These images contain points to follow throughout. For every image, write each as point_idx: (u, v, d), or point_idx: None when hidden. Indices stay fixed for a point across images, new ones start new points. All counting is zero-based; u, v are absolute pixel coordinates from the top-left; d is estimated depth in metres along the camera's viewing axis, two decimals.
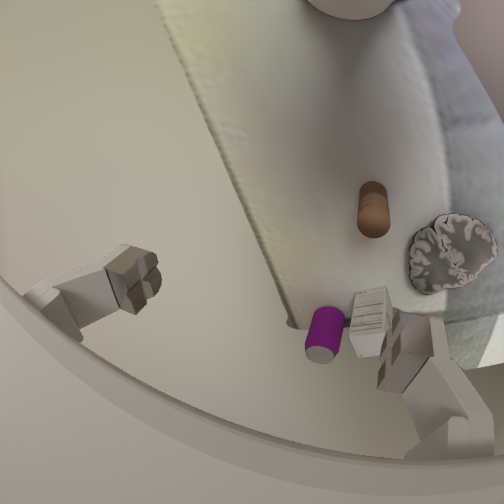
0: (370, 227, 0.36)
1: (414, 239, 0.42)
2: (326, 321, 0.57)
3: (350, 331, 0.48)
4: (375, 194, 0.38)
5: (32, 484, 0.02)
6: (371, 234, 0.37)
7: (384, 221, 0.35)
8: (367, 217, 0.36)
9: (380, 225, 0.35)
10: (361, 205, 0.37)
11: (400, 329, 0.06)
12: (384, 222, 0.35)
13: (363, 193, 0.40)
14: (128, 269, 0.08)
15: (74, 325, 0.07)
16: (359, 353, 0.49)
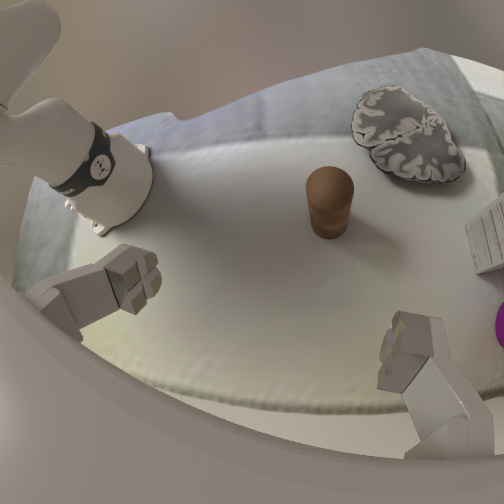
0: (335, 192, 0.26)
1: (387, 171, 0.32)
2: None
3: None
4: None
5: (32, 484, 0.02)
6: (347, 192, 0.26)
7: (327, 173, 0.27)
8: (319, 193, 0.26)
9: (333, 178, 0.26)
10: (312, 210, 0.28)
11: (400, 329, 0.06)
12: (329, 173, 0.26)
13: (312, 220, 0.32)
14: (128, 269, 0.08)
15: (74, 325, 0.07)
16: None
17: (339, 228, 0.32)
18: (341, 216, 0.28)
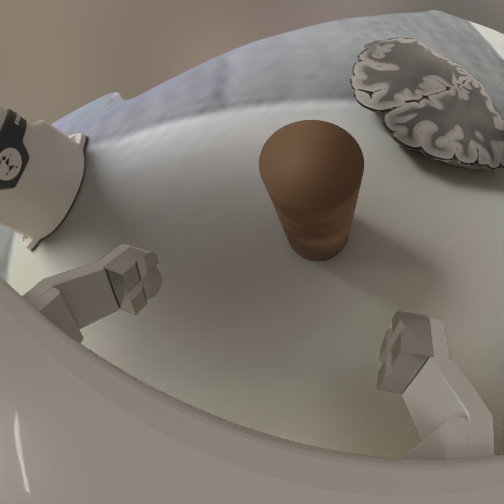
0: (322, 170, 0.12)
1: (412, 146, 0.18)
2: None
3: None
4: None
5: (32, 484, 0.02)
6: (349, 169, 0.11)
7: (306, 132, 0.12)
8: (287, 173, 0.12)
9: (319, 141, 0.12)
10: (278, 211, 0.14)
11: (400, 329, 0.06)
12: (310, 132, 0.12)
13: (285, 230, 0.18)
14: (128, 269, 0.08)
15: (74, 325, 0.07)
16: None
17: (334, 244, 0.17)
18: (337, 223, 0.14)
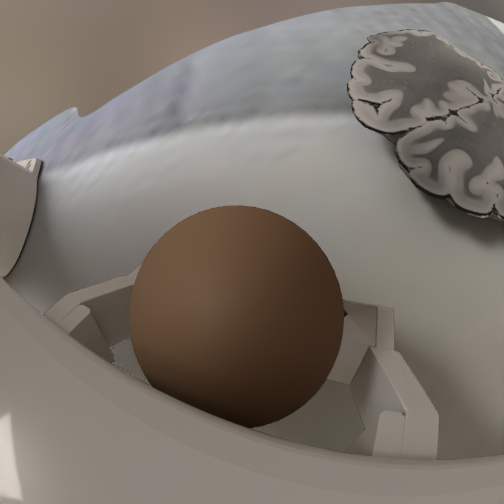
0: (242, 350, 0.05)
1: (437, 193, 0.12)
2: None
3: None
4: None
5: (32, 484, 0.02)
6: (304, 351, 0.05)
7: (217, 242, 0.06)
8: (173, 346, 0.06)
9: (244, 269, 0.06)
10: None
11: (344, 317, 0.07)
12: (228, 241, 0.06)
13: None
14: None
15: (105, 345, 0.07)
16: None
17: None
18: None
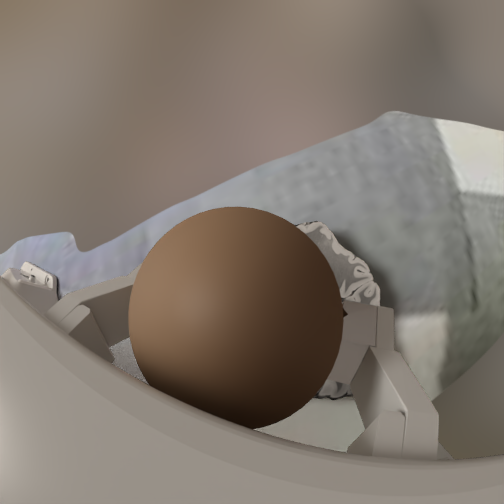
0: (241, 352, 0.05)
1: None
2: None
3: None
4: None
5: (32, 484, 0.02)
6: (303, 353, 0.05)
7: (217, 244, 0.06)
8: (173, 348, 0.06)
9: (243, 272, 0.06)
10: None
11: (344, 317, 0.07)
12: (227, 243, 0.06)
13: None
14: None
15: (105, 345, 0.07)
16: None
17: None
18: None
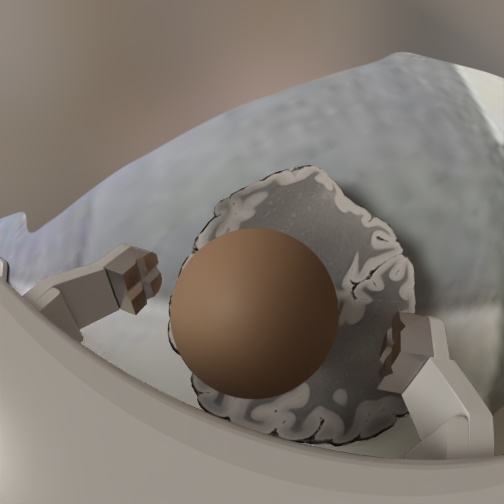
0: (263, 337, 0.07)
1: (217, 415, 0.16)
2: None
3: None
4: None
5: (32, 484, 0.02)
6: (309, 337, 0.07)
7: (244, 256, 0.08)
8: (209, 336, 0.07)
9: (265, 277, 0.07)
10: None
11: (400, 329, 0.06)
12: (252, 255, 0.08)
13: None
14: (128, 269, 0.08)
15: (74, 325, 0.07)
16: None
17: None
18: None
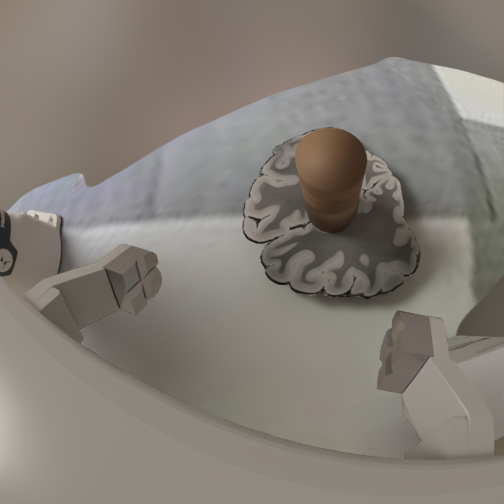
0: (339, 164, 0.16)
1: (280, 281, 0.26)
2: None
3: None
4: None
5: (32, 484, 0.02)
6: (357, 162, 0.16)
7: (325, 137, 0.17)
8: (315, 166, 0.17)
9: (335, 143, 0.17)
10: (307, 193, 0.19)
11: (400, 329, 0.06)
12: (329, 137, 0.17)
13: (308, 208, 0.23)
14: (128, 269, 0.08)
15: (74, 325, 0.07)
16: None
17: (346, 217, 0.22)
18: (349, 201, 0.19)
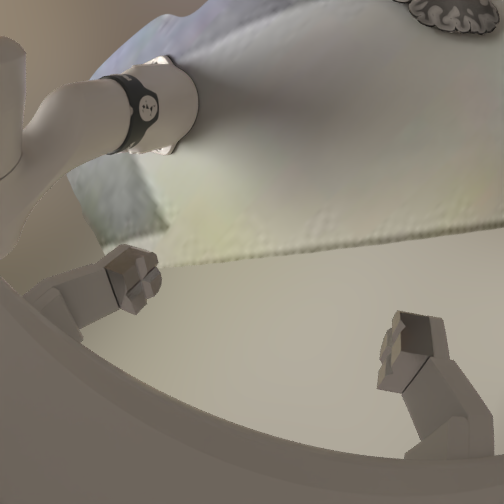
0: None
1: (430, 25, 0.19)
2: None
3: None
4: None
5: (32, 484, 0.02)
6: None
7: None
8: None
9: None
10: None
11: (400, 329, 0.06)
12: None
13: None
14: (128, 269, 0.08)
15: (74, 325, 0.07)
16: None
17: None
18: None
